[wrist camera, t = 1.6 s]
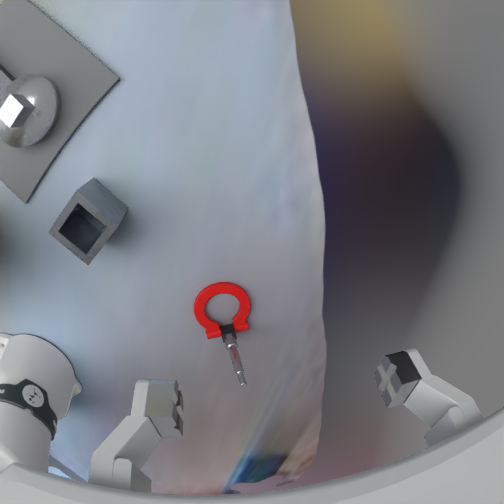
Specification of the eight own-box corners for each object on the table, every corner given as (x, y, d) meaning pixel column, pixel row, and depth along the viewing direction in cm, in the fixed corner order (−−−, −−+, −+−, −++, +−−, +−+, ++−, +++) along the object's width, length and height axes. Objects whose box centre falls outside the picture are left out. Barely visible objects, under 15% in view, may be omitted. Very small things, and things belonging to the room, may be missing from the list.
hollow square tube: (101, 241, 36) (88, 265, 29) (68, 213, 33) (48, 232, 27) (128, 207, 35) (118, 226, 29) (93, 177, 32) (76, 190, 26)
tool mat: (27, 202, 31) (25, 203, 30) (-62, 104, 19) (-64, 104, 18) (119, 78, 28) (118, 78, 27) (14, -10, 16) (13, -11, 15)
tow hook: (188, 287, 42) (201, 336, 46) (194, 344, 30) (212, 396, 34) (244, 274, 43) (252, 324, 47) (270, 326, 32) (276, 381, 36)
